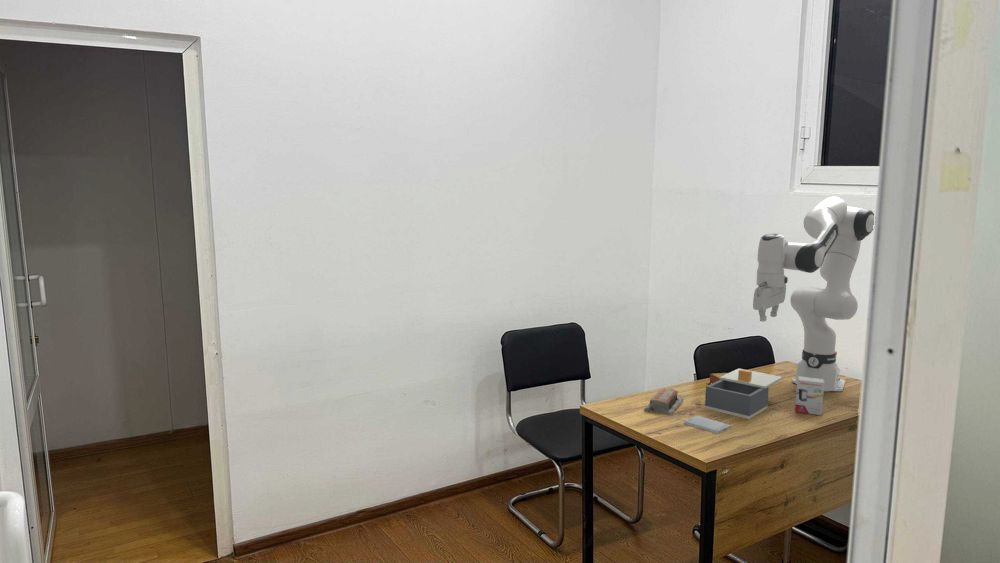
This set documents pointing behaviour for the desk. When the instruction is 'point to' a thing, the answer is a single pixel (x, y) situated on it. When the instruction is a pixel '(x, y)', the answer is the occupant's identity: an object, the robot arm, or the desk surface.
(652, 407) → the packaged product
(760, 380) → the lid flap
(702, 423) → the hard drive
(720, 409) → the charcoal box
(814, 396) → the ink box
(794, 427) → the desk surface
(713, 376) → the carton
